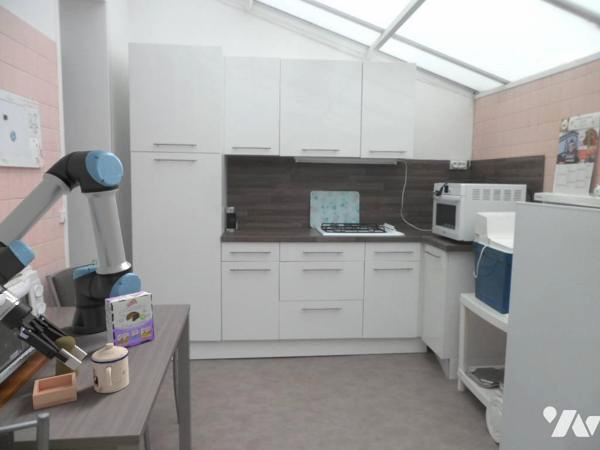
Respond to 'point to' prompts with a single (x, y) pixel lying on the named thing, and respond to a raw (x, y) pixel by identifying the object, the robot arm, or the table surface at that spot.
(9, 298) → the robot arm
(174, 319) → the table surface
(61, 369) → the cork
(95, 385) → the teacup with lid
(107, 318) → the candy box
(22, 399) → the table surface
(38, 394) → the tray
